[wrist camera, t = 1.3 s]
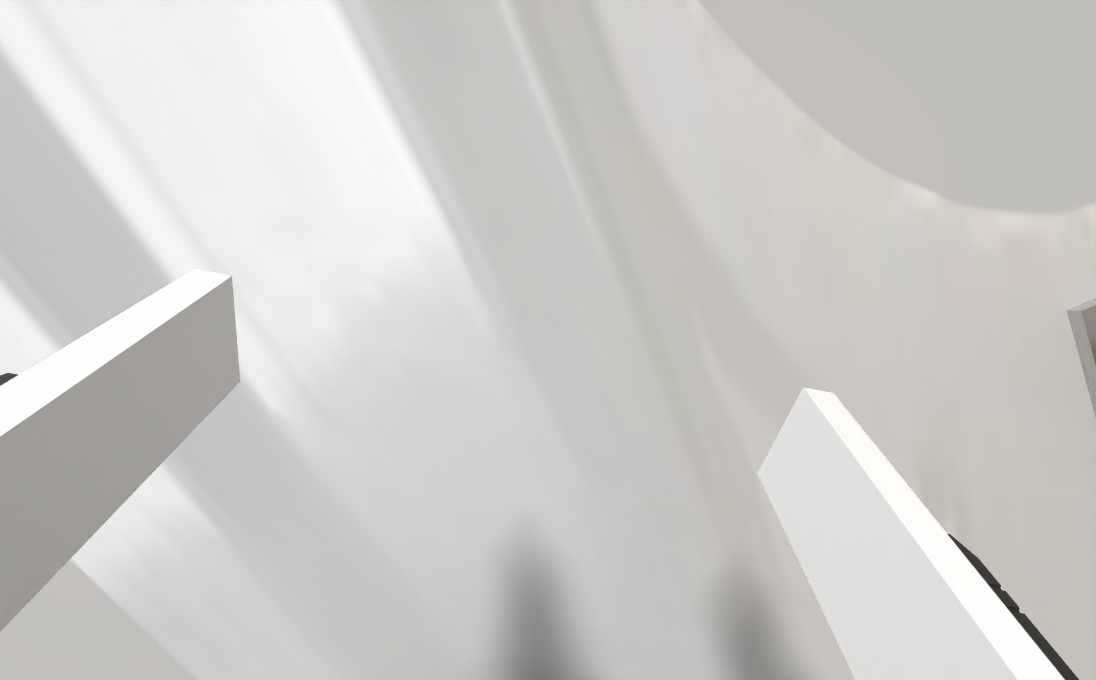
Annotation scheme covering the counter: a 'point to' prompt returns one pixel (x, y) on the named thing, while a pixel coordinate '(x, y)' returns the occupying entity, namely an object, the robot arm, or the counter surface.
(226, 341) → the robot arm
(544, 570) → the counter surface
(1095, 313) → the trowel
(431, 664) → the counter surface
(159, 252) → the counter surface
